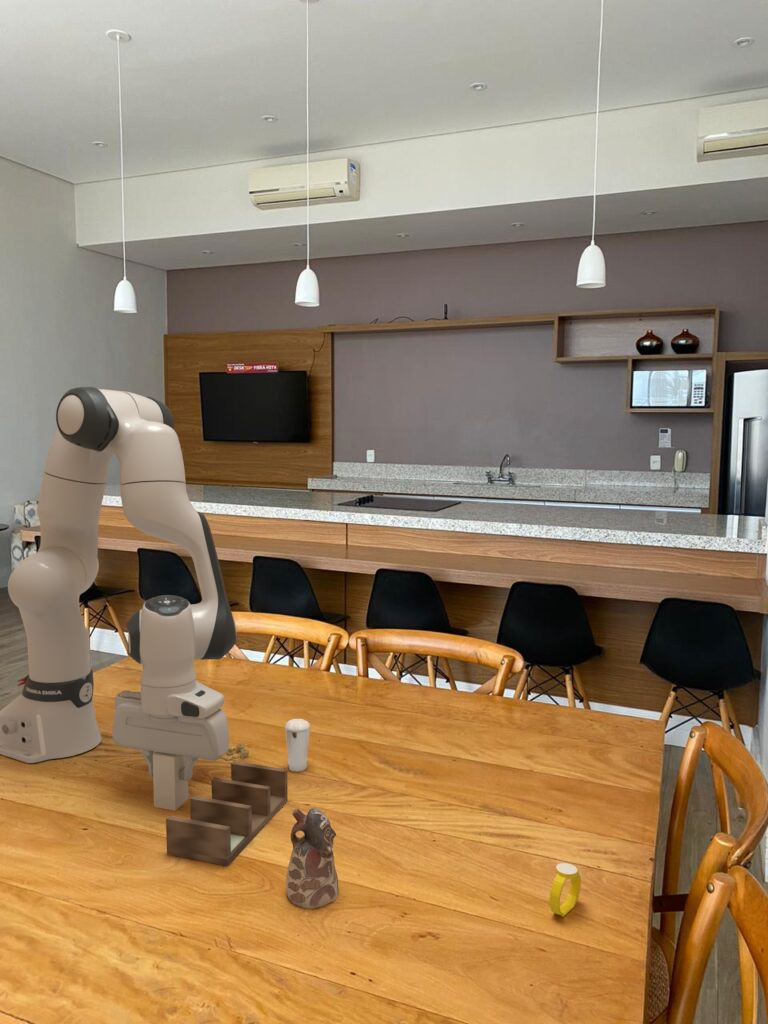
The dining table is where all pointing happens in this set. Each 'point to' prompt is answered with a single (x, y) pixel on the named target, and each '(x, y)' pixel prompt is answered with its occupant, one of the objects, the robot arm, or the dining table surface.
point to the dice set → (240, 749)
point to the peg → (169, 781)
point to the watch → (563, 873)
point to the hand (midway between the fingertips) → (170, 776)
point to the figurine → (312, 861)
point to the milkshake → (297, 743)
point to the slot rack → (228, 814)
